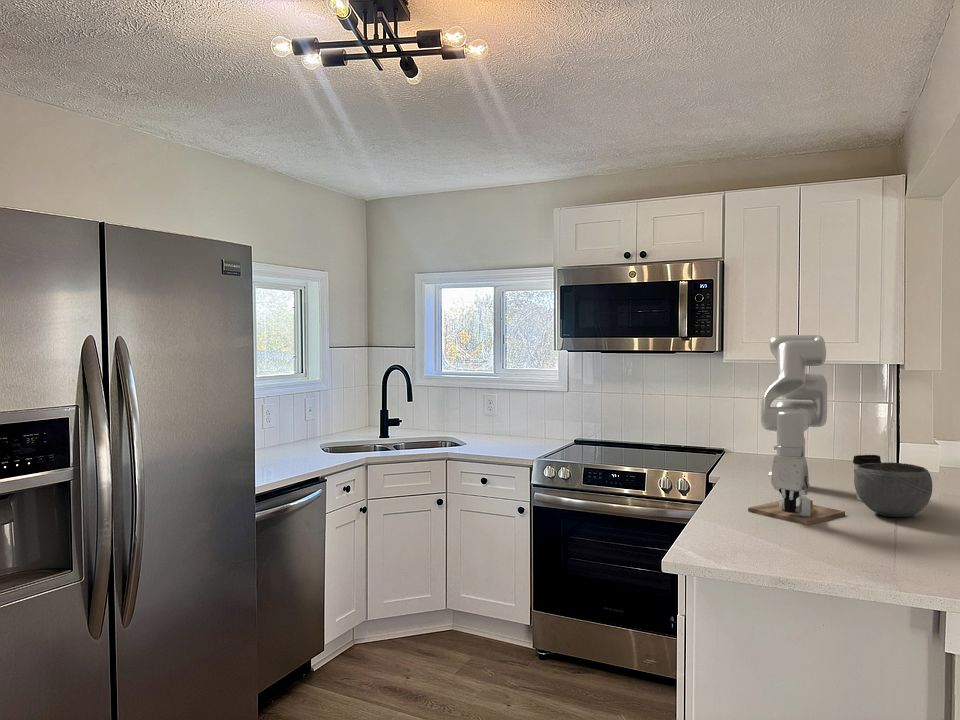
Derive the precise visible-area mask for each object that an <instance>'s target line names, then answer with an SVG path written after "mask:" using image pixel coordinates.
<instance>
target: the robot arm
mask: <svg viewBox="0 0 960 720" xmlns="http://www.w3.org/2000/svg"><path fill="white" fill-rule="evenodd" d="M769 350H770V352H771V354H772V355H773V356H774V358H775V359H776V380H775V381H774V382H773V383H771V384H770V385H769V387H767V389H766V390H765V392H764V393H763V395H762V398H761V405H760V406H761V407H760V423H761V426H762V428H763V429H764V430H767V431H769V432H771V431H772V432H776V445H774V446H773V450H774V451H776V454H774V455H773V460H772V464H771V471H769V473H768V477H769V478H770V484H771V486H772V487H773V489H774V490H776V491H778V492H779V493H780V495H781V497H782V499H784V508H785V512H788V513H791V512H795V511H796V499H798V497H799V496H807V495H808V489H809V488H810V487H811V486H810V483H809V482H810V481H809V478H810V477H809V469H808V462H807V458H806V438H805V432H806V431H807V430H808V429H809V428H819V427H820V428H821V427H824V426H825V425H826V423H827V421H828V382H827V379H826V377H825V376H824V375H823V374H820V373H806V367H821V366H823V365H824V364H825V362H826V359H827V358H826V357H827V346H826V341H825V339H824V337H823V336H822V335H816V334H815V335H814V334H810V335H809V334H806V335H804V334H802V335H801V334H800V335H797V334H796V335H795V334H789V335H788V334H787V335H782V334H781V335H775V336H772V337H771V338H770V340H769ZM778 398H782V399H784V400H781V401H778V402H777V403H776V404H775V406H771V405H772V403H773V402H774V401H775V400H776V399H778ZM800 490H801V491H800Z"/></svg>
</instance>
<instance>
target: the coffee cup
mask: <svg viewBox="0 0 960 720" xmlns="http://www.w3.org/2000/svg"><path fill="white" fill-rule="evenodd" d="M881 459H882V458H881V456H880V455H877V454H861V455H860V454H858V455H853V459H852V464H854V466H853V467H854V469H853V472H854V473H853V474H854V475H855V471H856V469H857V467H858V466H859V465H861V464H866V463H882V461H881ZM854 475H853V476H854ZM855 494H856V500H858V501H859V502H863V501H862V500H861V499H860V497H859V496H858V494H857V492H856V491H855Z"/></svg>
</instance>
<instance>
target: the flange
mask: <svg viewBox="0 0 960 720" xmlns="http://www.w3.org/2000/svg"><path fill="white" fill-rule="evenodd" d="M810 500H811V499H810V498H809V497H808V496H807V495H801V496H799V497H798V499H796V511H795V512H797V513H798V514H799V515H801V516H810ZM778 501H779V507H780V508H781V509H783V510H785V508H784V498H782V499H779V500H778Z"/></svg>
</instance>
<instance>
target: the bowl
mask: <svg viewBox="0 0 960 720" xmlns="http://www.w3.org/2000/svg"><path fill="white" fill-rule="evenodd" d="M853 476H854V478H853V483H854V485H853V486H854V489H855V493H856V492H857V494H858V496H859V497H860V499H861V500H862V501H861V502H862V503H863V504H865V506H867V508H869V509H870V510H871V511H873V512H875V513H876V514H877V515H880V516H884V517H888V518H889V517H890V518H906V517H911V516H915V515H916V514H918V513H919V512H921V511H923V509H924V508H925V507H927V505H928V504H929V502H930V500H931V497H932V495H933V480H932V476H931V473H930V472H929V470H928V469H927V468H926V467H924V466H920V465H917V464H911V463H902V462H881V463H866V464H861V465H859V466H858V467H857V469H856V471H855V475H853Z"/></svg>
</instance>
